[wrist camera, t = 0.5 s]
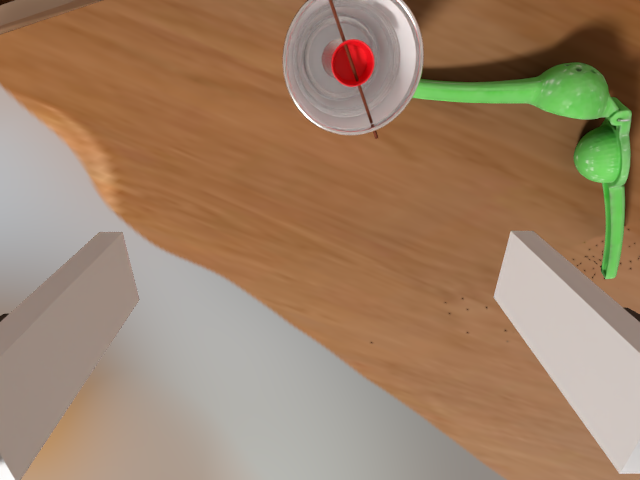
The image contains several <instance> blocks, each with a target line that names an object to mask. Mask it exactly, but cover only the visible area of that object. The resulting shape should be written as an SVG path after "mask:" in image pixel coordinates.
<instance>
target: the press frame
mask: <svg viewBox="0 0 640 480" xmlns="http://www.w3.org/2000/svg"><path fill="white" fill-rule="evenodd" d="M99 1H102V0H14V1H11V2H9V3H6V4H3V5H0V34H3V33H6V32H9V31H12V30H15V29H18V28H21V27H24V26H27V25H30V24H33V23H36V22H39V21H42V20H45V19H48V18H51V17H54V16H57V15H60V14H63V13H66V12H69V11H72V10H75V9H78V8H81V7H84V6H87V5H90V4H93V3H96V2H99Z"/></svg>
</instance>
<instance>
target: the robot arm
mask: <svg viewBox="0 0 640 480" xmlns="http://www.w3.org/2000/svg"><path fill="white" fill-rule="evenodd" d="M494 298H495V300H496V301H497V303H498V304H499V305H500V307H501V308H502V310H503V311H504V312H505V314H506V315H507V317H508V318H509V319H510V321H511V322H512V324H513V325H514V326H515V328H516V329H517V331H518V332H519V333H520V335H521V336H522V338H523V339H524V340H525V342H526V343H527V345H528V346H529V347H530V349H531V350H532V352H533V353H534V354H535V356H536V357H537V359H538V360H539V361H540V363H541V364H542V366H543V367H544V368H545V370H546V371H547V373H548V374H549V375H550V377H551V378H552V380H553V381H554V382H555V384H556V385H557V387H558V388H559V389H560V391H561V392H562V394H563V395H564V396H565V398H566V399H567V401H568V402H569V403H570V405H571V406H572V408H573V409H574V410H575V412H576V413H577V415H578V416H579V417H580V419H581V420H582V422H583V423H584V424H585V426H586V427H587V429H588V430H589V431H590V433H591V434H592V436H593V437H594V438H595V440H596V441H597V443H598V444H599V445H600V447H601V448H602V450H603V451H604V452H605V454H606V455H607V457H608V458H609V459H610V461H611V462H612V464H613V465H614V466H615V468H616V469H617V471H618V472H619V473H620V474H627V473H640V314H638V313H636V312H634V311H632V310H631V309H629V308H623V307H621V306H620V305H619V304H618V303H617V302H616V301H614V300H613V299H612V298H611V297H610V296H609V295H607V294H606V293H605V292H604V291H603V290H602V289H600V288H599V287H598V286H597V285H596V284H594V283H593V282H592V281H591V280H590V279H589V278H587V277H586V276H585V275H584V274H583V273H582V272H580V271H579V270H578V269H577V268H576V267H575V266H573V265H572V264H571V263H570V262H569V261H568V260H566V259H565V258H564V257H563V256H562V255H561V254H559V253H558V252H557V251H556V250H555V249H554V248H552V247H551V246H550V245H549V244H548V243H546V242H545V241H544V240H543V239H542V238H541V237H539V236H538V235H537V234H536V233H535V232H534V231H511V232H510V236H509V240H508V244H507V248H506V252H505V256H504V259H503V263H502V267H501V271H500V275H499V279H498V283H497V286H496V290H495V294H494ZM138 301H139V296H138V292H137V288H136V284H135V280H134V276H133V272H132V269H131V264H130V260H129V256H128V252H127V248H126V244H125V240H124V236H123V233H122V232H99V233H98V234H97V235H96V236H95V237H93V239H91V240H90V241H89V242H88V243H87V244H86V245H85V246H84V247H83V248H81V249H80V250H79V251H78V252H77V253H76V254H75V255H74V256H73V257H72V258H70V259H69V260H68V261H67V262H66V263H65V264H64V265H63V266H62V267H60V268H59V269H58V270H57V271H56V272H55V273H54V274H53V275H52V276H50V277H49V278H48V279H47V280H46V281H45V282H44V283H43V284H42V285H41V286H39V287H38V288H37V289H36V290H35V291H34V292H33V293H32V294H31V295H30V296H28V297H27V298H26V299H25V300H24V301H23V302H22V303H21V304H20V305H19V306H17V307H16V308H15V309H14V310H13V311H12V312H11V313H10V314H3V315H1V316H0V480H21V479H22V477H23V475H24V474H25V472H26V471H27V469H28V468H29V466H30V465H31V463H32V462H33V460H34V459H35V457H36V456H37V454H38V453H39V451H40V450H41V448H42V447H43V445H44V444H45V442H46V441H47V439H48V438H49V436H50V434H51V433H52V432H53V430H54V428H55V427H56V426H57V424H58V422H59V421H60V419H61V418H62V416H63V415H64V413H65V412H66V410H67V409H68V407H69V406H70V404H71V403H72V401H73V400H74V398H75V396H76V395H77V394H78V392H79V391H80V389H81V388H82V386H83V385H84V383H85V382H86V380H87V379H88V377H89V376H90V374H91V372H92V371H93V369H94V368H95V366H96V365H97V363H98V362H99V360H100V359H101V357H102V356H103V354H104V353H105V351H106V350H107V348H108V347H109V345H110V343H111V342H112V341H113V339H114V338H115V336H116V334H117V333H118V332H119V330H120V329H121V327H122V325H123V324H124V322H125V321H126V319H127V318H128V316H129V315H130V313H131V312H132V310H133V309H134V307H135V306H136V304H137V303H138Z"/></svg>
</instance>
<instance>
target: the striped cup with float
mask: <svg viewBox="0 0 640 480" xmlns="http://www.w3.org/2000/svg"><path fill="white" fill-rule="evenodd" d="M423 62H424V47H423V39H422V34H421V31H420V28H419V25H418V22H417V20H416V18H415V16H414V14H413V12H412V11H411V9H410V8H409V6H408V5H407V4H406V3H405V2H404V0H307V1H306V2H305V3H304V4H303V5H302V6H301V8H300V9H299V10H298V12H297V13H296V15H295V16H294V18H293V20H292V22H291V24H290V26H289V29H288V31H287V34H286V38H285V42H284V47H283V60H282V64H283V73H284V79H285V83H286V86H287V89H288V92H289V94H290V96H291V98H292V100H293V102H294V103H295V105H296V106H297V108H298V109H299V110H300V112H301V113H302V114H303V115H304V116H305V117H306V118H307V119H308V120H309V121H311V122H312V123H313V124H315V125H316V126H318V127H320V128H322V129H324V130H326V131H329V132H331V133H335V134H340V135H361V134H366V133H370V132H373V133H374V136H375V139H376V138H378V135H377V132H376V130H378V129H380V128H382V127H384V126H385V125H387V124H388V123H390V122H391V121H393V120H394V119H395V118H396V117H397V116H398V115H399V114H400V113H401V112H402V111H403V110H404V109H405V108H406V106H407V105H408V104H409V102H410V101H411V99H412V97H413V95H414V94H415V92H416V89H417V87H418V84H419V82H420V78H421V74H422V70H423Z"/></svg>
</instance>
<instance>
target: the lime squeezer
mask: <svg viewBox="0 0 640 480" xmlns="http://www.w3.org/2000/svg"><path fill="white" fill-rule="evenodd" d="M412 98H419V99H428V100H439V101H451V102H468V103H528V104H531V105H534V106H536V107H538V108H540V109H542V110H544V111H547V112H550V113H553V114H557V115H561V116H565V117H569V118H576V119H586V120H589V119H598V118H601V117H605V120H604V122H603V123H602V124H601V126H600V127H598V128H595V129H593V130H592V131H590V132H588V133H587V134H586V135H585V136H583V137H582V139H581V140H580V141H579V143H578V144H577V146H576V148H575V152H574V163H575V166H576V168H577V170H578V171H579V172H580V173H581V175H583V176H584V177H586V178H587V179H589V180H591V181H595V182H600V183H602V186H603V192H604V200H605V213H606V234H605V247H604V255H603V262H602V266H601V272H602V274H603V276H604V277H605V279H611V278H615V277H616V274H617V270H618V265H619V261H620V255H621V249H622V241H623V233H624V218H625V187H624V184H625V182H626V180H627V178H628V174H629V169H630V154H631V151H630V139H629V131H630V125H631V116H632V112H631V111H630V110H629V109H628V108H627V107H626V106H625V105H623V104H622V103H621V102H620V101H619V100H618V99H617V98H615V97H610V95H609V91H608V85H607V83H606V80H605V78H604V76H603V75H602V74H601V73H600V72H599V71H598V70H596V69H595V68H594V67H592V66H590V65H587V64H584V63H579V62H573V63H564V64H560V65H556V66H554V67H552V68H550V69H548V70H546V71H545V72H543V73H542V74H541V75H540V76H538V77H533V78H526V79H517V80H506V81H493V82H451V81H436V80H426V79H420V82H419V84H418V87H417V89H416V92H415V94H414V95H413V97H412Z"/></svg>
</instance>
